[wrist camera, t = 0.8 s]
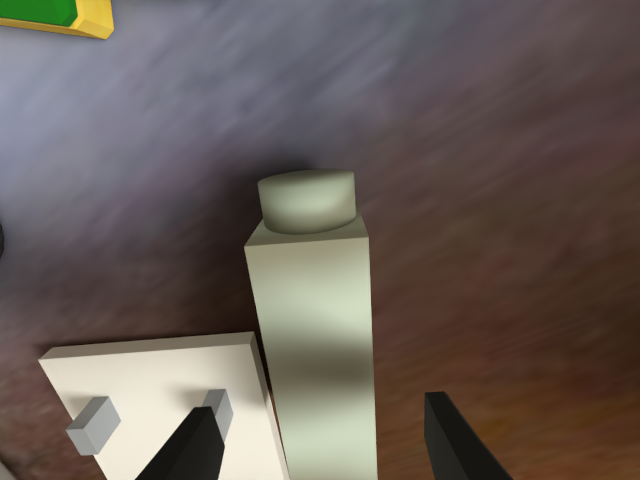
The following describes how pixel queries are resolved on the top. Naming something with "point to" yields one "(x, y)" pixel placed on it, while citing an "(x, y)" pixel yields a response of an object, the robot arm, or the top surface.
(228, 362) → the cradle jig
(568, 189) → the top surface
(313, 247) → the tall single-stud brick
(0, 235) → the pill bottle
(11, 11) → the dish sponge
